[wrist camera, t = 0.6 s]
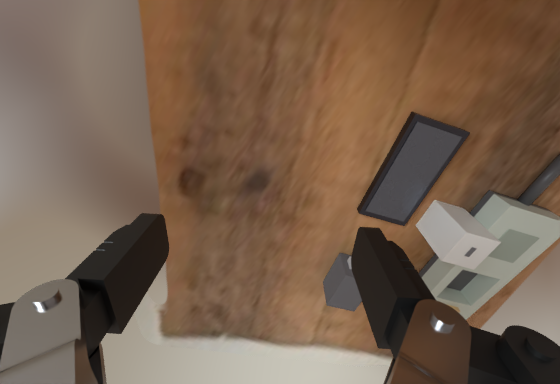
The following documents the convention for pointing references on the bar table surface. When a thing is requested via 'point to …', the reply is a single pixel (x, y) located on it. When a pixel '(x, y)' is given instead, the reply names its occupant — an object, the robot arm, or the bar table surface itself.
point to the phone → (411, 168)
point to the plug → (341, 285)
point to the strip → (498, 247)
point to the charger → (456, 235)
